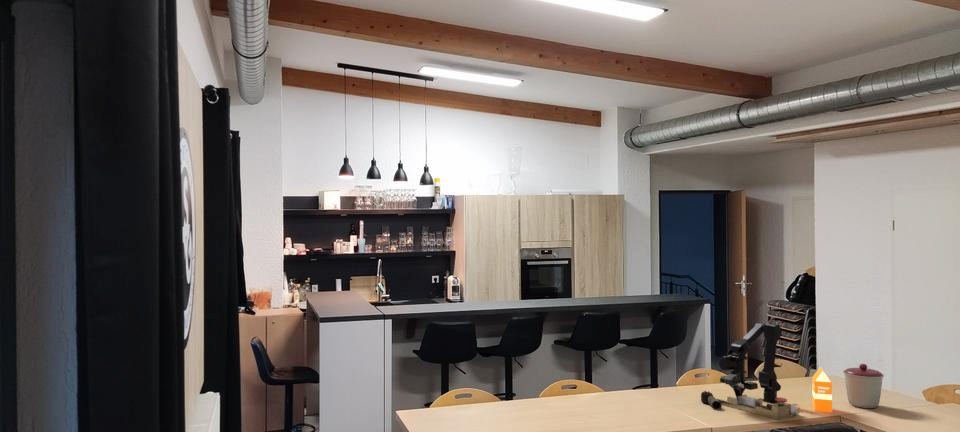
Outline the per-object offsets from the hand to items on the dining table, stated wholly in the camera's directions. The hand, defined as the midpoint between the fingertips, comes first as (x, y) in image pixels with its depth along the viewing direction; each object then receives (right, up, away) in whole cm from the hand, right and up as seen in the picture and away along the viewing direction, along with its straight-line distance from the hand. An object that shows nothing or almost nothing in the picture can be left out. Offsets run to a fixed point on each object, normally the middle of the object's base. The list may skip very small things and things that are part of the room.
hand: (738, 399), depth 341 cm
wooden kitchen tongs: (+7, -3, -6) cm, 10 cm away
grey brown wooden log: (-13, -4, +3) cm, 14 cm away
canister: (+63, -3, +1) cm, 63 cm away
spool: (+4, -3, -6) cm, 7 cm away
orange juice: (+39, -3, -6) cm, 40 cm away
